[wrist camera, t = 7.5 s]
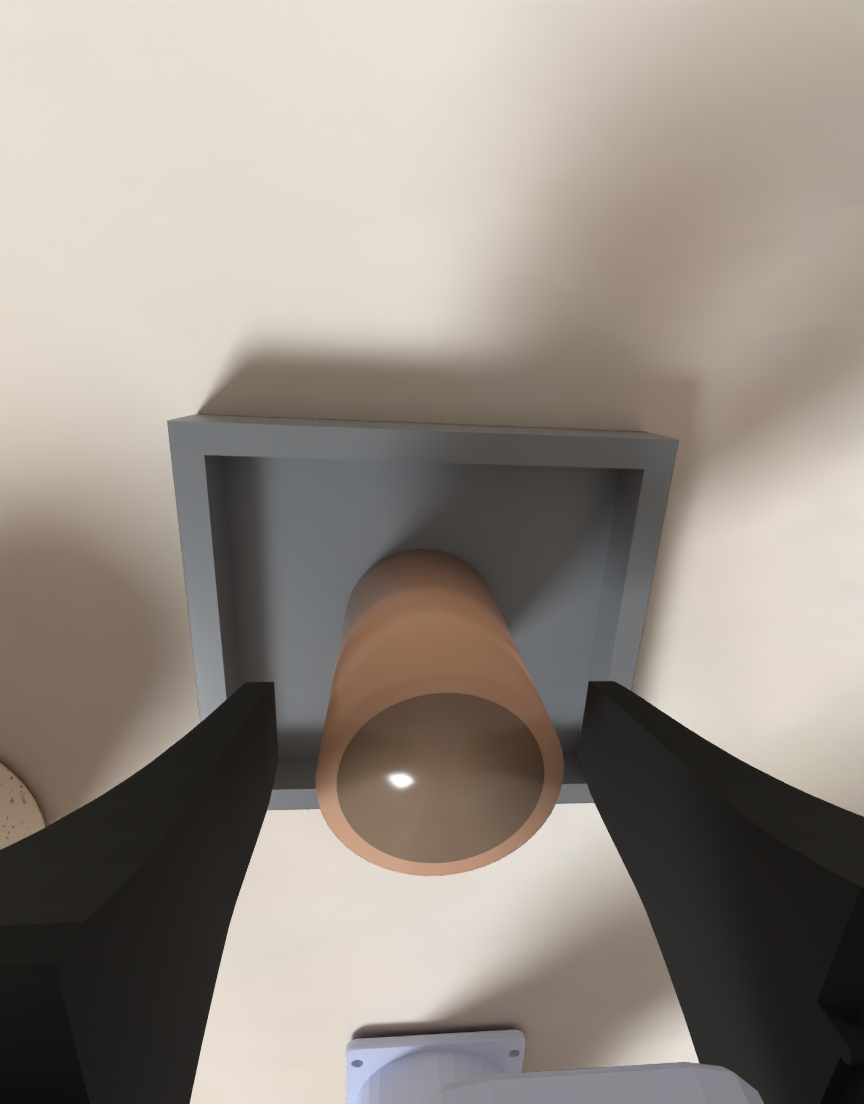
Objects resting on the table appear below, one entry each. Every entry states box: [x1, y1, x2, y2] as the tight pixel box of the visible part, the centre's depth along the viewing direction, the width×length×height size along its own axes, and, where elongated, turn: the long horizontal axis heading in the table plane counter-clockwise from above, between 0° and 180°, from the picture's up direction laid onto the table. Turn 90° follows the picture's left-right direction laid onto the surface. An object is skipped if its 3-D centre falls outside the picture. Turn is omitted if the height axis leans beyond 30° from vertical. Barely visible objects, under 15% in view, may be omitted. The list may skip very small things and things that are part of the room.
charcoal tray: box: [167, 414, 679, 810], centre depth 16 cm, size 12×13×2 cm
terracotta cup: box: [316, 549, 564, 876], centre depth 14 cm, size 5×5×7 cm
